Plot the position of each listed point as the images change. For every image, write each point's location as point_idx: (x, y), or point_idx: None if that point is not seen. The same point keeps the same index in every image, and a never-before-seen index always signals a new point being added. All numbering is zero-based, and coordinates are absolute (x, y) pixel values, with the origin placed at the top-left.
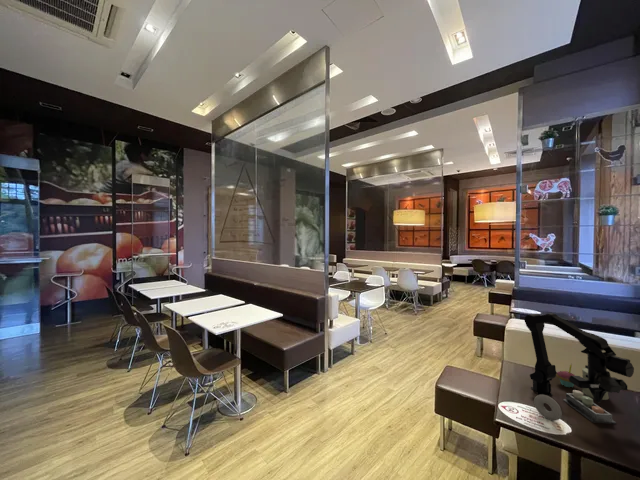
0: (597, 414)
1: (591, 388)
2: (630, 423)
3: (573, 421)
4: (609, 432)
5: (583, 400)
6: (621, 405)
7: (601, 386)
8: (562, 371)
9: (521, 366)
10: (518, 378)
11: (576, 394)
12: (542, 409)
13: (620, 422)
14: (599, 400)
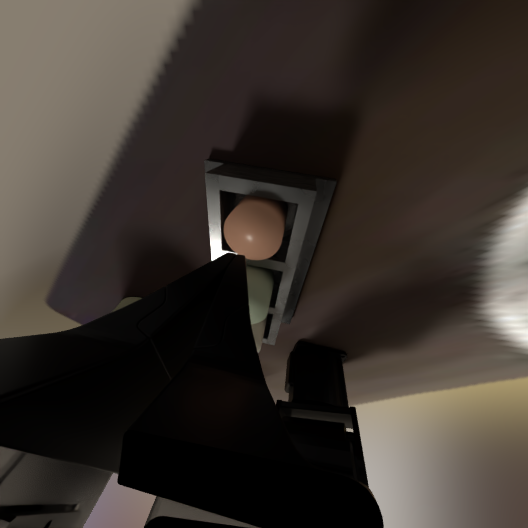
0: (305, 189)
1: (351, 504)
2: (131, 160)
3: (450, 197)
4: (344, 51)
5: (269, 301)
6: (102, 269)
7: (45, 475)
8: None
9: None
10: None
11: (259, 335)
12: None
13: (175, 171)
14: (228, 263)
